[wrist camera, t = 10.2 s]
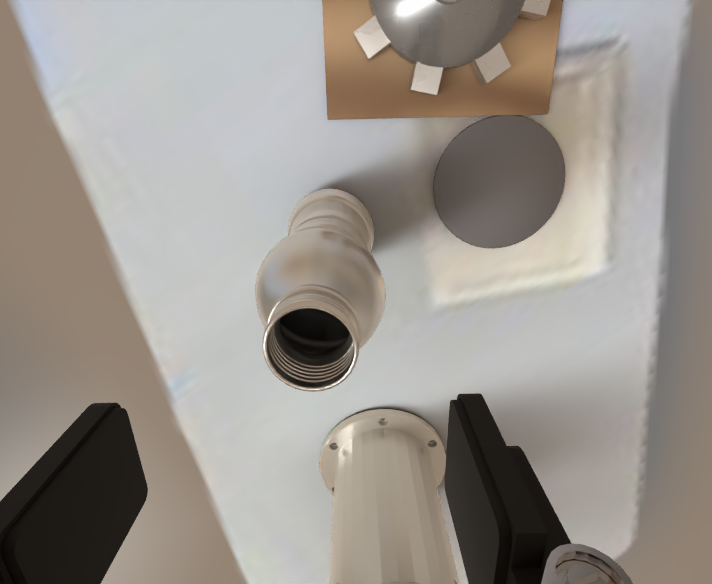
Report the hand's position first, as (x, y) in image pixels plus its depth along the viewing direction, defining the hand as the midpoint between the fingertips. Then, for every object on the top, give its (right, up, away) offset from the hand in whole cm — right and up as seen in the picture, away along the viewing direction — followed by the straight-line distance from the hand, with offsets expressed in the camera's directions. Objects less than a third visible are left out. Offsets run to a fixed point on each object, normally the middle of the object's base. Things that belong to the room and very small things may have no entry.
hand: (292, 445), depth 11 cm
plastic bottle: (0, +9, +23) cm, 25 cm away
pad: (+13, +12, +22) cm, 28 cm away
